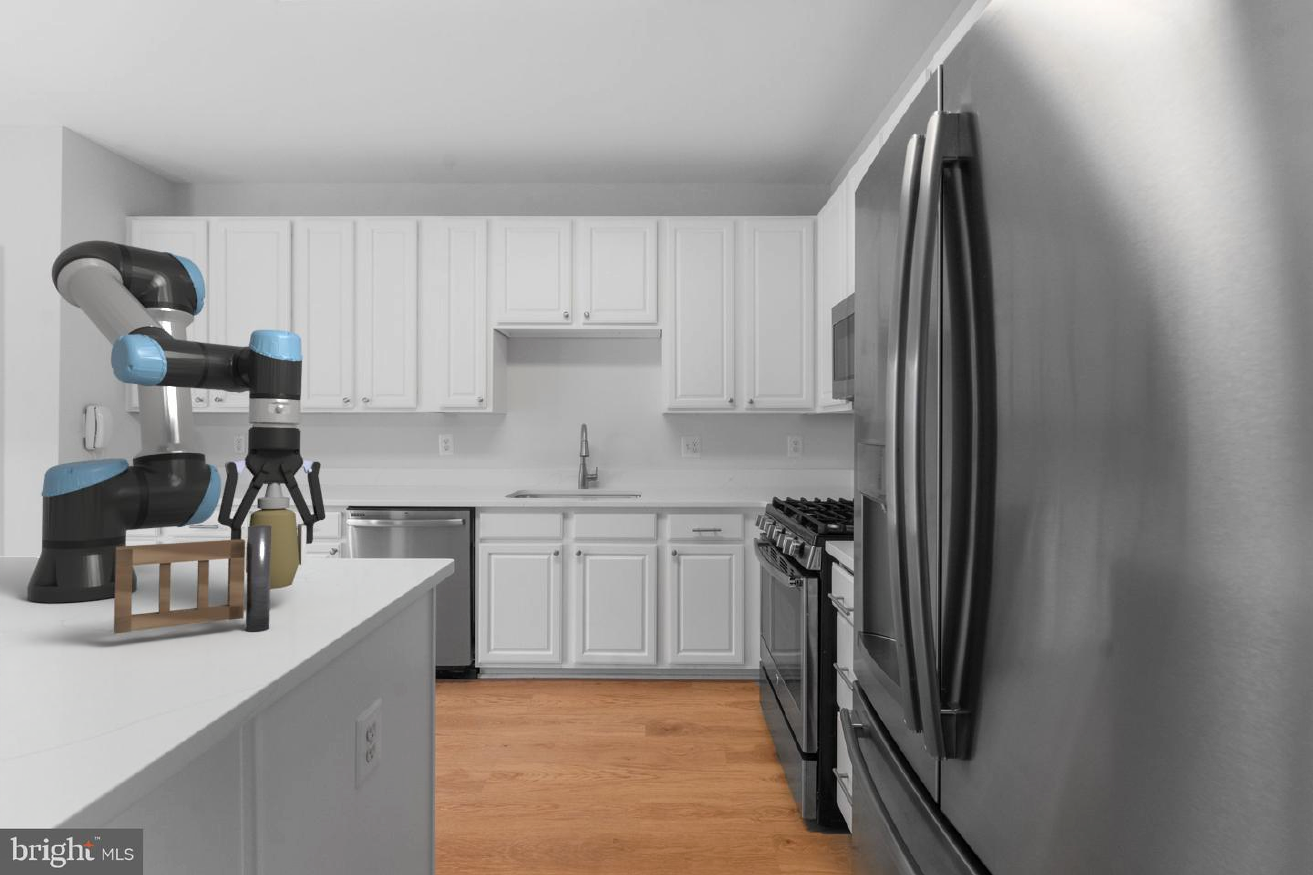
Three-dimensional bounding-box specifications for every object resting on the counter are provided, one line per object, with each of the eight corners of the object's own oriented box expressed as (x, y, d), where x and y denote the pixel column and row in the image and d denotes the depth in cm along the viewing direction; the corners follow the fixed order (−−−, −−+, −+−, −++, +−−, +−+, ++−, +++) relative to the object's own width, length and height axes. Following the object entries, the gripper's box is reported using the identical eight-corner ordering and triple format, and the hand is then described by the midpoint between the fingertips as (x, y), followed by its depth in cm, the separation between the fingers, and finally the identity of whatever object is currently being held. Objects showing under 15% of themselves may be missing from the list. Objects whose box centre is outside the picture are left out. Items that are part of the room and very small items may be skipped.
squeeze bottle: (276, 592, 116) (278, 477, 116) (231, 589, 117) (233, 475, 118) (310, 583, 124) (312, 475, 124) (268, 580, 125) (269, 473, 125)
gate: (113, 630, 99) (115, 546, 99) (241, 616, 108) (242, 539, 108) (114, 633, 98) (116, 548, 98) (243, 618, 107) (245, 540, 107)
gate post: (244, 628, 109) (246, 526, 109) (266, 625, 111) (268, 524, 111) (247, 632, 107) (249, 528, 107) (271, 629, 108) (273, 527, 109)
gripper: (203, 424, 111) (200, 576, 111) (348, 427, 124) (346, 563, 124) (196, 424, 117) (194, 569, 117) (336, 427, 130) (333, 557, 130)
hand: (272, 566), depth 121 cm, fingers closed on squeeze bottle, 8 cm apart
